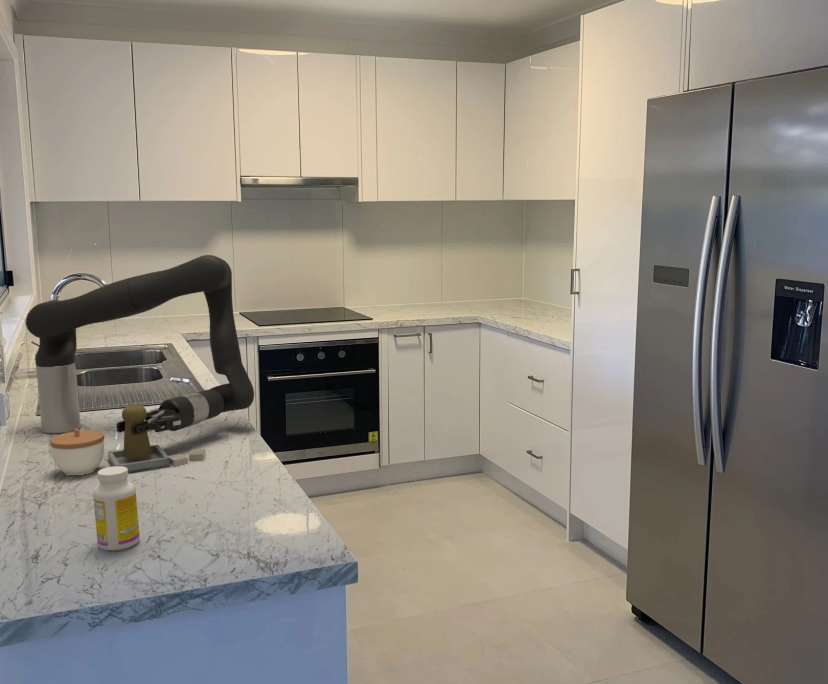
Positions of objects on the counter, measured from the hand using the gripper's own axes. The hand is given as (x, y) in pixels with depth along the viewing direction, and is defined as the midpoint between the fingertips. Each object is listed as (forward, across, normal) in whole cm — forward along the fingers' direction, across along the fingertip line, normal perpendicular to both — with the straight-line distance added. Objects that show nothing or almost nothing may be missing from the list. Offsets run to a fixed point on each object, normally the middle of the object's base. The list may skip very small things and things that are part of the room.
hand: (125, 429), depth 175 cm
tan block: (-6, +8, +9) cm, 14 cm away
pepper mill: (-3, 0, +7) cm, 7 cm away
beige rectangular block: (-11, +10, +9) cm, 17 cm away
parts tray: (-2, +1, +8) cm, 9 cm away
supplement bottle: (+29, +34, +8) cm, 45 cm away
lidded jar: (+8, -6, +8) cm, 13 cm away
